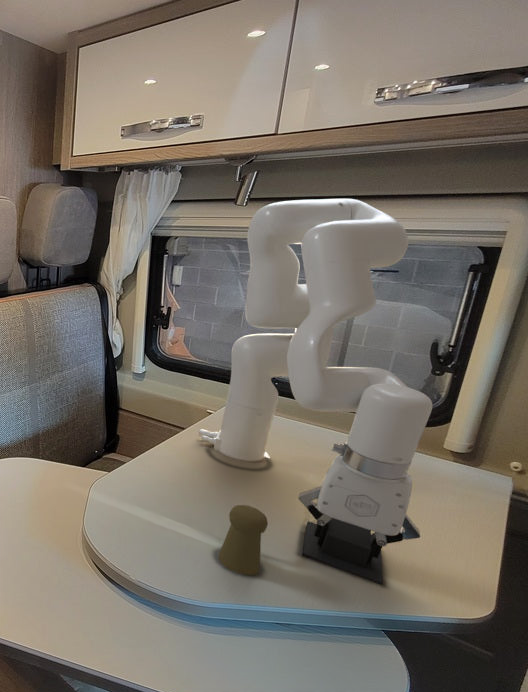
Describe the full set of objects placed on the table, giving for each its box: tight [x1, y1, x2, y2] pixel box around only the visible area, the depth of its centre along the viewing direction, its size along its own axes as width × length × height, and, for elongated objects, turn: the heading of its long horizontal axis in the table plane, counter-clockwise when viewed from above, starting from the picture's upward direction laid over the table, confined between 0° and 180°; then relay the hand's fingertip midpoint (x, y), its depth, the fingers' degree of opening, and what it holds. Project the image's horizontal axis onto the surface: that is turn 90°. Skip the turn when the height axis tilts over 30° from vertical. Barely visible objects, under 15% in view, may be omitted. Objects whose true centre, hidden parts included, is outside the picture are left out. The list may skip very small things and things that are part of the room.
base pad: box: [301, 520, 383, 586], centre depth 78 cm, size 10×10×2 cm
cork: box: [217, 504, 269, 576], centre depth 76 cm, size 6×6×11 cm
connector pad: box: [321, 518, 372, 568], centre depth 78 cm, size 6×6×4 cm
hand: (343, 548), depth 78 cm, fingers closed on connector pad, 5 cm apart
